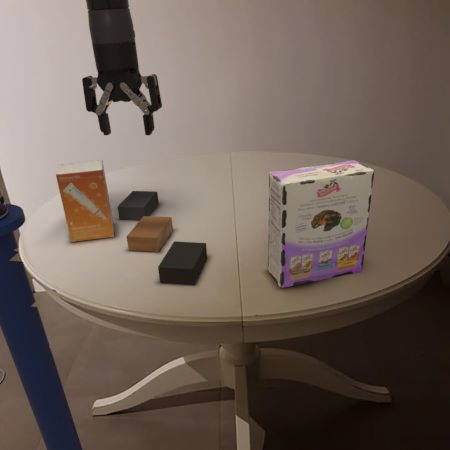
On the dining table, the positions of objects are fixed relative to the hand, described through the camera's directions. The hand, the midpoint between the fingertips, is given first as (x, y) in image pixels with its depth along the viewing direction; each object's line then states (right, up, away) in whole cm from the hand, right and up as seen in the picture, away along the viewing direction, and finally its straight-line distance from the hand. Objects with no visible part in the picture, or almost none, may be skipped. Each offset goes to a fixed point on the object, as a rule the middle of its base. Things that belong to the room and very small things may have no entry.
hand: (128, 134), depth 91 cm
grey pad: (+1, -14, +7) cm, 16 cm away
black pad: (+12, -27, -14) cm, 33 cm away
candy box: (+33, -28, -17) cm, 46 cm away
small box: (-6, -20, -1) cm, 21 cm away
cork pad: (+5, -21, -4) cm, 22 cm away
